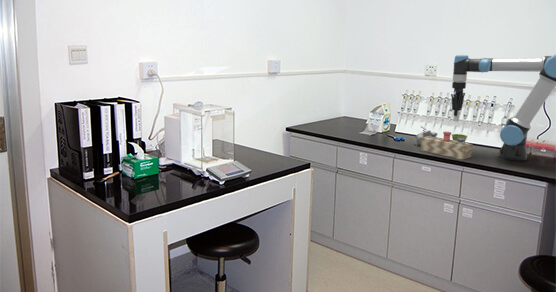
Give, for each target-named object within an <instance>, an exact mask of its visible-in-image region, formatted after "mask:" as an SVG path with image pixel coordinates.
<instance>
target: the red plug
mask: <svg viewBox="0 0 556 292" xmlns="http://www.w3.org/2000/svg"><path fill="white" fill-rule="evenodd" d="M442 134H443V137H442V138H443V141H445V142H450V140H451V136H452V132H450V131H443V132H442Z"/></svg>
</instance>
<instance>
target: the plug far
mask: <svg viewBox="0 0 556 292" xmlns="http://www.w3.org/2000/svg"><path fill="white" fill-rule="evenodd" d="M436 137H438V132H431V133H430V138H431V139H436Z"/></svg>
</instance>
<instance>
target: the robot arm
mask: <svg viewBox="0 0 556 292" xmlns="http://www.w3.org/2000/svg"><path fill="white" fill-rule="evenodd" d="M470 72H471V73H488V72H525V73H526V72H527V73H528V72H535V73H536V72H539V73H538V75H539V79H538V80H537V81H536V83H535V85H534V86H533V88H532V90H531V91H530V93H529V94H528V96H527V97H526V98H525V100H524V101H523V103H522V105H521V106H520V108H519V109H518V110H517V112H516V113H515V115H514V116H511V117H509V118H508V119H507V121H506V123H505V125H504V127H502V128H501V130H500V131H499V137H500V139H501V142H502V143H503V144H502V146H501V147H500V149H499V152H498V157H500V158H502V159H505V160H509V161H510V160H511V161H527V160H528V159H527V158H528V152H527V147H526V146H527V145H526V144H527V140H528V133H529V131H530V130H531V122H532V121H533V120H534V118H535V117H536V115H537V114H538V113H539V111H540V109H541V108H542V107H543V105H544V103H545V102H546V101H547V99H548V98H549V97H550V95H551V93H552V91H553V90H554V88H556V54H553V55H544V56H543V57H510V58H509V57H508V58H507V57H506V58H505V57H502V58H501V57H500V58H499V57H498V58H497V57H495V58H492V57H491V58H487V57H482V58H470V57H469V55H468V54H465V55H464V54H463V55H462V54H459V55H458V54H457V55H455V56H454V62H453V75H452V83H451V84H452V86H451V87H452V89H453V93H451V94H450V97H451V109H452V111H453V120H452V121H453V122H459V121H460V111H462V109H463V104H464V99H465V96H466V92H464V90H465V89H466V86H467V77H468V76H467V75H468V73H470Z"/></svg>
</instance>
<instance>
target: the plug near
mask: <svg viewBox="0 0 556 292" xmlns="http://www.w3.org/2000/svg"><path fill="white" fill-rule="evenodd" d="M464 141H465V142H466V140H465V139H464V138H457V144H460V145H464Z"/></svg>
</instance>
